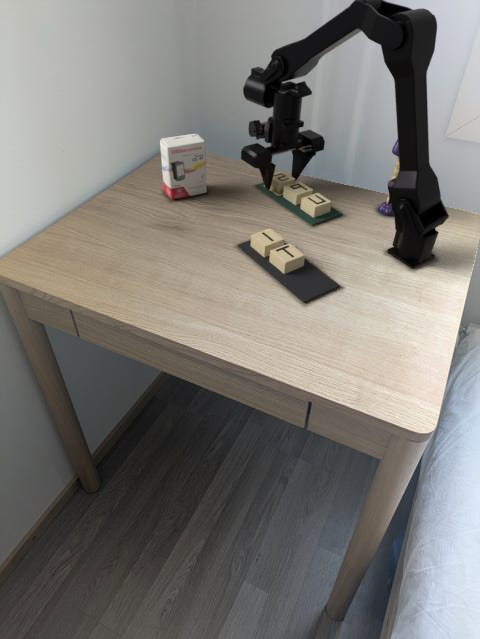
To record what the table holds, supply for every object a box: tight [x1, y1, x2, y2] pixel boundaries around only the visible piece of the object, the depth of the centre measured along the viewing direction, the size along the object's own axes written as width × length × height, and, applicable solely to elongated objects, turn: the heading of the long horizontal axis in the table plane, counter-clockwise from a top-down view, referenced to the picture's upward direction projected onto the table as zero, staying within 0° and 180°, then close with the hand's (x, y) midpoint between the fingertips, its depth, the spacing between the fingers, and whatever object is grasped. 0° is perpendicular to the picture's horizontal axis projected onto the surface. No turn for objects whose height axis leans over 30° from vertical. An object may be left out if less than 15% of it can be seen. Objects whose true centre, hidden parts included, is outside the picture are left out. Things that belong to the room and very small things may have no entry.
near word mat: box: [237, 228, 341, 304], centre depth 89 cm, size 20×8×3 cm, turn 34°
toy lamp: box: [377, 138, 399, 217], centre depth 100 cm, size 5×5×17 cm
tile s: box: [270, 171, 296, 194], centre depth 110 cm, size 4×4×3 cm
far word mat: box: [255, 181, 343, 227], centre depth 107 cm, size 20×8×3 cm, turn 34°
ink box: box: [159, 133, 208, 200], centre depth 106 cm, size 9×5×12 cm, turn 116°
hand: (280, 185), depth 111 cm, fingers open, 7 cm apart
